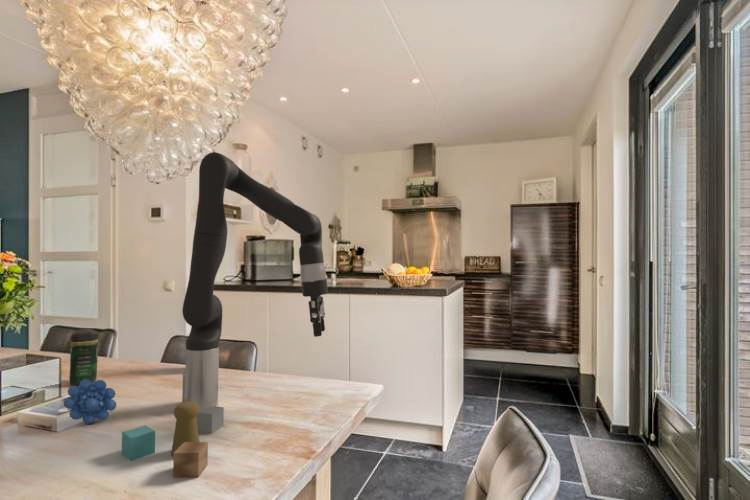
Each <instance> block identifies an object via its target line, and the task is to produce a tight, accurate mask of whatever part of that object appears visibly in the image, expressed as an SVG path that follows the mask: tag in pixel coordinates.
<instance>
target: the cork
mask: <svg viewBox="0 0 750 500" xmlns="http://www.w3.org/2000/svg"><path fill="white" fill-rule="evenodd" d="M198 412H199V406H198V404H197V403H195V402H190V401H189V402H183V403H182V402H179V403H178V404H177V405H176V406H175V407H174V410H173V415H174V418H175V419H176V421H175V426H174V434H173V439H172V447H171V450H170V451H171V452H170V455H171V457H172V458H174V452H175V451H176V450H177V449H178V448H179V447H180V446H181V445H182V444H183V443H184V442H200V437H199V432H198V428H197V419H196V416H197V415H198Z"/></svg>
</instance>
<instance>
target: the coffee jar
mask: <svg viewBox="0 0 750 500" xmlns="http://www.w3.org/2000/svg"><path fill="white" fill-rule="evenodd" d="M98 347H99V332H98V331H97V330H95V329H93V328H83V329H82V328H81V329H78V330H76V331H74V332H73V333H72V334H71V335H70V354H69V355H70V356H69V358H70V360H69V361H70V363H69V385H71V386H79V384H80V382H81V381H82V380H84V379H90V380H91V381H92V382H93V384H94V382H96V381H97V380H98V379H97V376H98V374H97V373H98V354H99V353H98V351H99V348H98ZM79 387H80V386H79Z"/></svg>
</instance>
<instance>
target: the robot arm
mask: <svg viewBox="0 0 750 500" xmlns="http://www.w3.org/2000/svg"><path fill="white" fill-rule="evenodd" d="M198 170H199V171H198V173H199V174H198V203H197V210H196V219H195V227H194V233H193V241H192V250H191V259H190V260H191V261H190V268H189V277H188V282H187V288H186V291H185V295H184V300H183V304H182V309H181V310H182V311H181V312H182V316H183V319H184V321H185V322H186V324H188V325H189V326H191V328H190V332H189V334H188V336H187V339H186V340H185V369H184V370H185V372H184V373H183V374H182V396H181V398H182V399H181V400H182V401H181V403H183V402H189V401H190V402H195V403H197V404H198V406H199V410H200V409H202V408H203V407H205V406H216V407H217V406H218V404H219V373H220V372H219V369H220V368H219V366H220V365H219V363H220V361H219V359H220V358H219V357H220V356H219V354H220V339H221V336H222V330H223V329H222V326H223V305H222V302H221V300H220V298H219V297H218V296H217V295H216V294H214V287H215V280H216V278H217V277H216V276H217V274H218V271H219V269H220V266H221V264H222V263H223V260H224V256H225V252H226V249H227V240H228V224H227V223H228V222H227V219H226V212H225V207H224V206H225V205H224V199H225V198H224V197H225V190H226V189H227V190H229V191H231V192H233V193H236V194H238V195H240V196H242V197H243V198H245V199H247V200H248V201H249V202H251V203H252V204H253V205H254V206H256V207H257V208H258V209H260V210H261V211H263V212H264V213H266V214H268V215H269V216H271V217H272V218H274V219H276V220H278V221H280V222H282V223H283V224H284V225H285V226H286V227H289V228H290V229H291V230H293V231H294V232H296V233H297V234H298V235H299V236H300V238H299V239H300V246H299V248H298V257H299V259H298V260H299V265H300V266H299V267H300V268H299V272H300V275H299V276H300V282H301V283H300V284H301V293H302V296H303V297H304V298H305V297H310V301H309V300H308V302H307V303H308V307H309V308H308V310H309V311H308V312H309V321H310V322H311V324H312V331H313V337H314V338H316V337H321V336H322V335H323V334H322V333H323V332H325V330H326V327H325V315H326V313H325V303H324V302H325V301H324V297H323V295H327V294H328V292H329V289H328V281H327V273H326V266H325V261H324V253H323V252H324V251H323V247H322V246H323V244H322V243H323V230H322V229H323V228H322V222H321V220H320V218H319V217H318V216H317V215H316V214H314V213H311V212H310V211H308V210H306V209H304V208H302V207H301V206H299V205H298V204H296V203H294V202H293V201H292V200H291V199H289V198H287V197H286V196H285V195H282V194H281V193H280V192H277V191H276V190H275V189H272V188H271V187H268V186H266V185H264V184H262V183H260V182H259V181H258V180H256V179H254V178H253V177H251V176H250V175H248V174H247V173H246V172H245V171H243V170H242V168H240V167H239V166H238V165H237V164H236V163H235V162H234V161H233V160H232V159H231V158H229V157H228V156H225V155H223V154H221V153H220V152H216V151H213V152H212V151H211V152H210V153H207V154H206V155H204V157H203V158H202V160H201V162H200V164H199V169H198Z"/></svg>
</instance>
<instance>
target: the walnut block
mask: <svg viewBox="0 0 750 500" xmlns="http://www.w3.org/2000/svg"><path fill="white" fill-rule="evenodd" d="M208 447H209V441H199V442H184V443H183V444H182V445H181V446H180V447H179V448H178V449H177V450H176V451H175V452H174V457H172V458H173V465H172V466H173V467H172V470H173V471H172V477H173V478H174V479H175V478H176V479H178V478H179V479H182V478H183V479H184V478H185V479H186V478H189V479H190V478H192V479H193V478H194V479H195V478H199V477H200V476H201V475H202V473H203V472H204V471H205V470H206V468H207V467H208V465H209V464H208V462H209V461H208V460H209V459H208V457H209V456H208V455H209V454H208V453H209V448H208Z"/></svg>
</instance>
